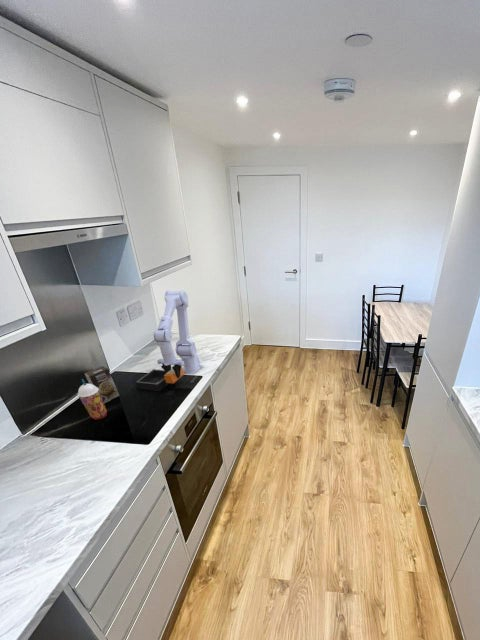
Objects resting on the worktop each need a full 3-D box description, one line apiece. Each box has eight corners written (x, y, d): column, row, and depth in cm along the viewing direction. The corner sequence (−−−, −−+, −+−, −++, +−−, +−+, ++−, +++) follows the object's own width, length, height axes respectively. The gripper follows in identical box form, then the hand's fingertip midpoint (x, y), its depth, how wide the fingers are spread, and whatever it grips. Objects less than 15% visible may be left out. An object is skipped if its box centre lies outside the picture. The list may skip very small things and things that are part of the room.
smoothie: (86, 420, 150) (66, 382, 139) (100, 410, 156) (83, 373, 145) (99, 423, 147) (80, 385, 136) (113, 412, 154) (97, 375, 143)
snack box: (177, 373, 174) (175, 366, 172) (184, 374, 173) (182, 366, 171) (166, 382, 166) (163, 375, 164) (173, 383, 165) (170, 375, 163)
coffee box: (102, 404, 160) (89, 376, 151) (96, 401, 164) (83, 372, 155) (120, 396, 166) (108, 368, 157) (114, 392, 170) (102, 365, 161)
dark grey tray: (155, 376, 183) (153, 369, 181) (176, 378, 179) (174, 371, 177) (138, 389, 171) (135, 382, 169) (160, 391, 168) (157, 384, 165)
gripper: (150, 355, 160) (158, 379, 168) (175, 357, 157) (182, 381, 164) (159, 349, 166) (166, 372, 173) (183, 351, 162) (190, 375, 170)
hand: (174, 376), depth 169 cm, fingers closed on snack box, 4 cm apart
